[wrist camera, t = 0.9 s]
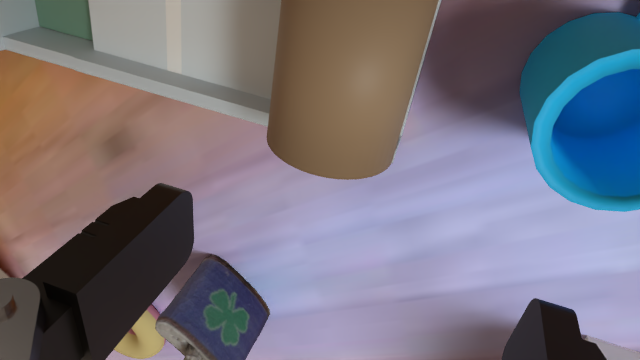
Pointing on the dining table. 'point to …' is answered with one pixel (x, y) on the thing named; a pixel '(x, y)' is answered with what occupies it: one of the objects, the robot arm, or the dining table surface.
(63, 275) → the robot arm
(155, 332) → the donut
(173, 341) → the flask
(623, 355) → the white slotted block
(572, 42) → the mug
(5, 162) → the dining table surface
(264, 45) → the lane
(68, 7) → the pit mat
